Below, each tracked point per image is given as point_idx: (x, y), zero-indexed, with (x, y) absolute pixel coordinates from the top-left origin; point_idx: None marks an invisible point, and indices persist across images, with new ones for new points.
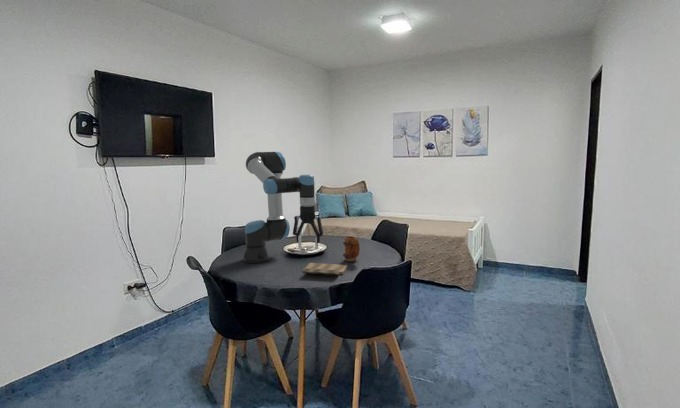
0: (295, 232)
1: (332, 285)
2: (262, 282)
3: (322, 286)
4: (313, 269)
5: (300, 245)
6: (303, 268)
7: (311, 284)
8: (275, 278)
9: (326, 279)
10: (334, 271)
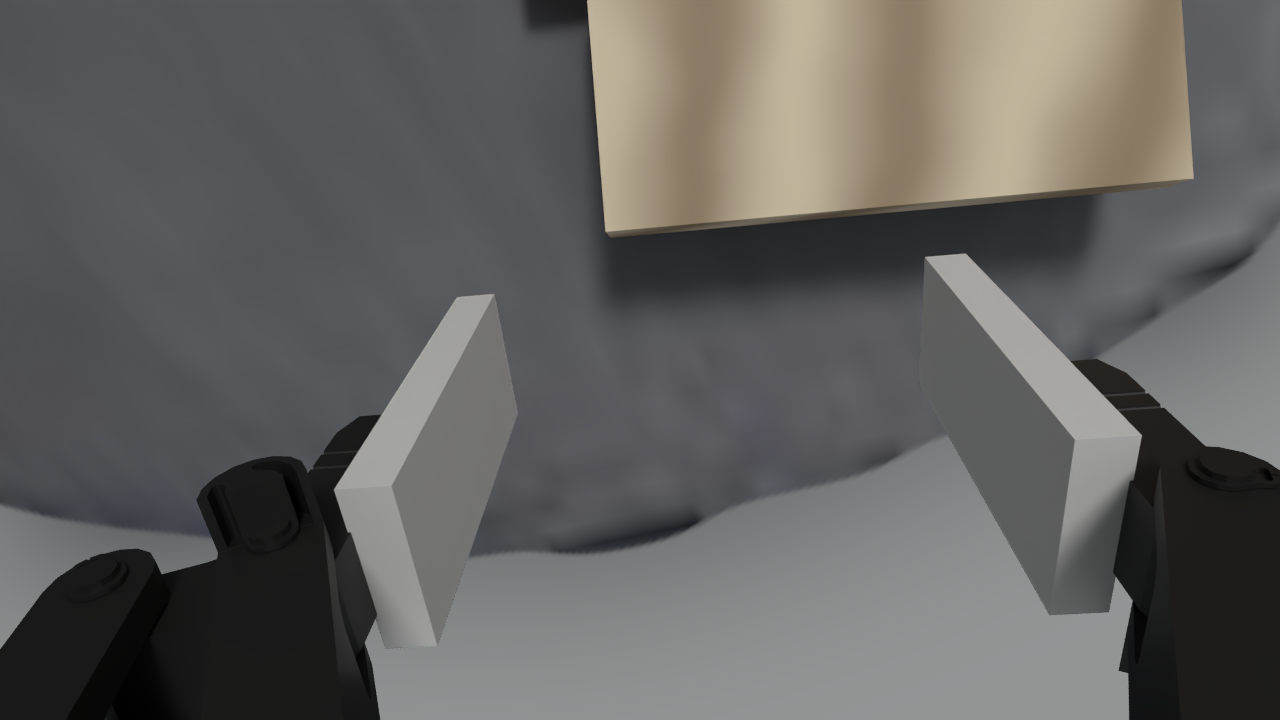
0: (152, 686)
1: None
2: None
3: None
4: (786, 217)
5: (494, 406)
6: (616, 230)
7: (814, 398)
8: (299, 330)
9: None
10: (1145, 185)
